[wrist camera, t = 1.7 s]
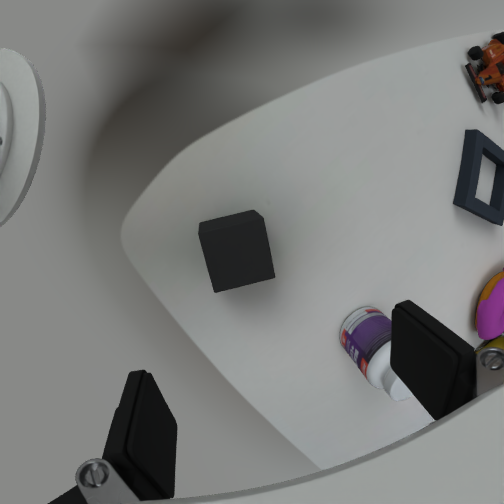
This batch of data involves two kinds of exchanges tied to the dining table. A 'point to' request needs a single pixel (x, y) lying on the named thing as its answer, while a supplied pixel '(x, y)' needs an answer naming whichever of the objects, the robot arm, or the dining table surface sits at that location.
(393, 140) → the dining table surface
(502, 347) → the neti pot
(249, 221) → the block
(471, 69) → the toy car
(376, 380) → the pill bottle
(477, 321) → the donut
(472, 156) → the dark blue square frame
